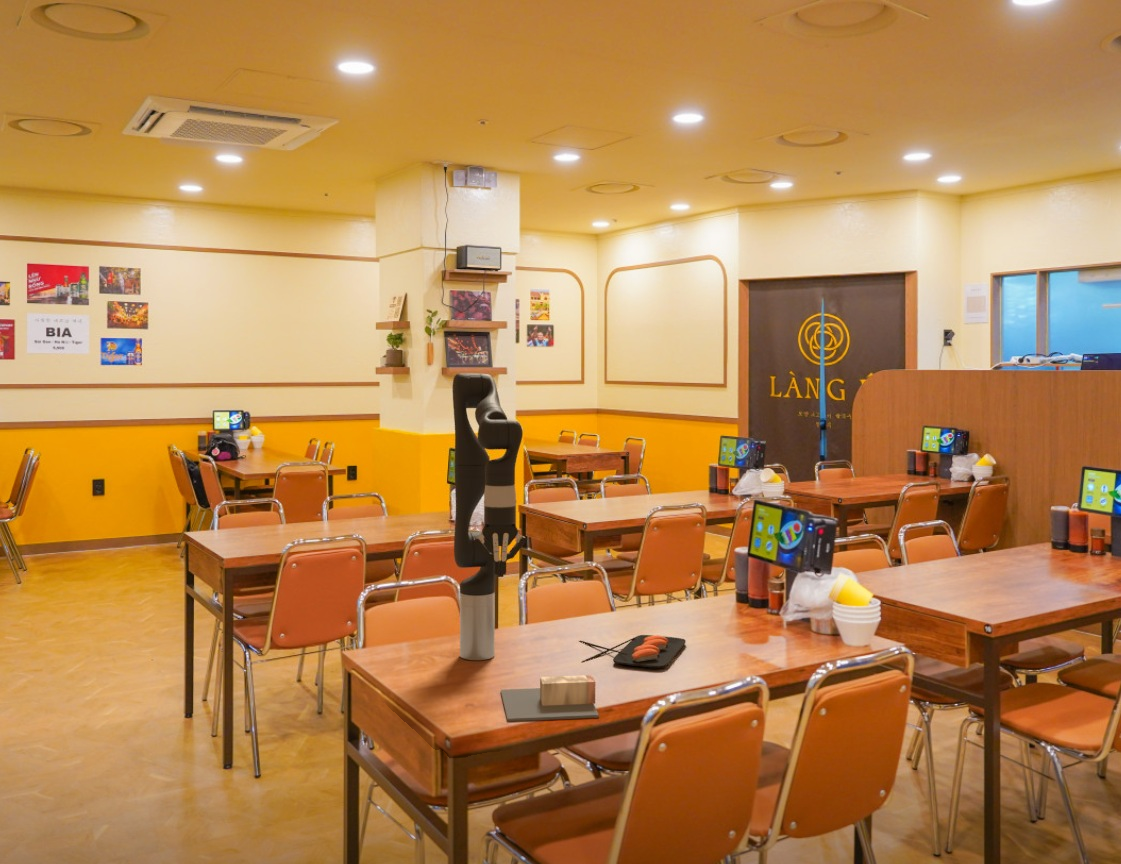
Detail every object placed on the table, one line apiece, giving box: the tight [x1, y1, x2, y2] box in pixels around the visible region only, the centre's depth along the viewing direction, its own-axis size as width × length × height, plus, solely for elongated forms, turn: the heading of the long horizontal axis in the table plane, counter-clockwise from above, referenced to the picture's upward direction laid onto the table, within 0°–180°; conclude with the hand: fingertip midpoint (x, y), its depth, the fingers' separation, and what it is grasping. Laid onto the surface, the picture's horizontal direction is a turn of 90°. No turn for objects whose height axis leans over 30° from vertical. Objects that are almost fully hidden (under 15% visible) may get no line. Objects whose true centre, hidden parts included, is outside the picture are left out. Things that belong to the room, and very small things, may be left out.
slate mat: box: [500, 687, 600, 722], centre depth 222 cm, size 20×20×1 cm
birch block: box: [539, 674, 596, 706], centre depth 222 cm, size 5×5×12 cm
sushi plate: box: [580, 634, 686, 669], centre depth 265 cm, size 29×30×4 cm
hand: (499, 576), depth 232 cm, fingers closed
